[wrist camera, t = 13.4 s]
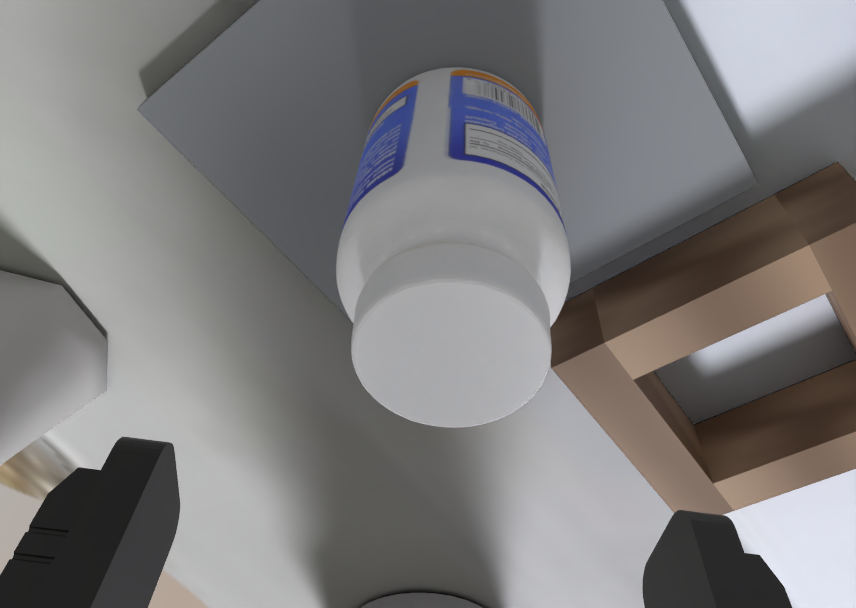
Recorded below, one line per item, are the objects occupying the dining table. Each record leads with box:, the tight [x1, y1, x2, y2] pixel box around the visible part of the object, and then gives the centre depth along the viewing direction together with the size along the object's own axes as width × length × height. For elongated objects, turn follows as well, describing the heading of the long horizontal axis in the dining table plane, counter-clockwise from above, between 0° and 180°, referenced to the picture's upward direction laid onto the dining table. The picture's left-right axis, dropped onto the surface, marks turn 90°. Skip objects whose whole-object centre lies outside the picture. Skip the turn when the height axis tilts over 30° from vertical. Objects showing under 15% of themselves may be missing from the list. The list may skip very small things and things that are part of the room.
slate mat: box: [137, 0, 759, 323], centre depth 22 cm, size 14×13×1 cm
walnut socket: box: [550, 162, 856, 515], centre depth 26 cm, size 11×11×3 cm
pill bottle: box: [336, 67, 571, 428], centre depth 18 cm, size 5×5×10 cm
